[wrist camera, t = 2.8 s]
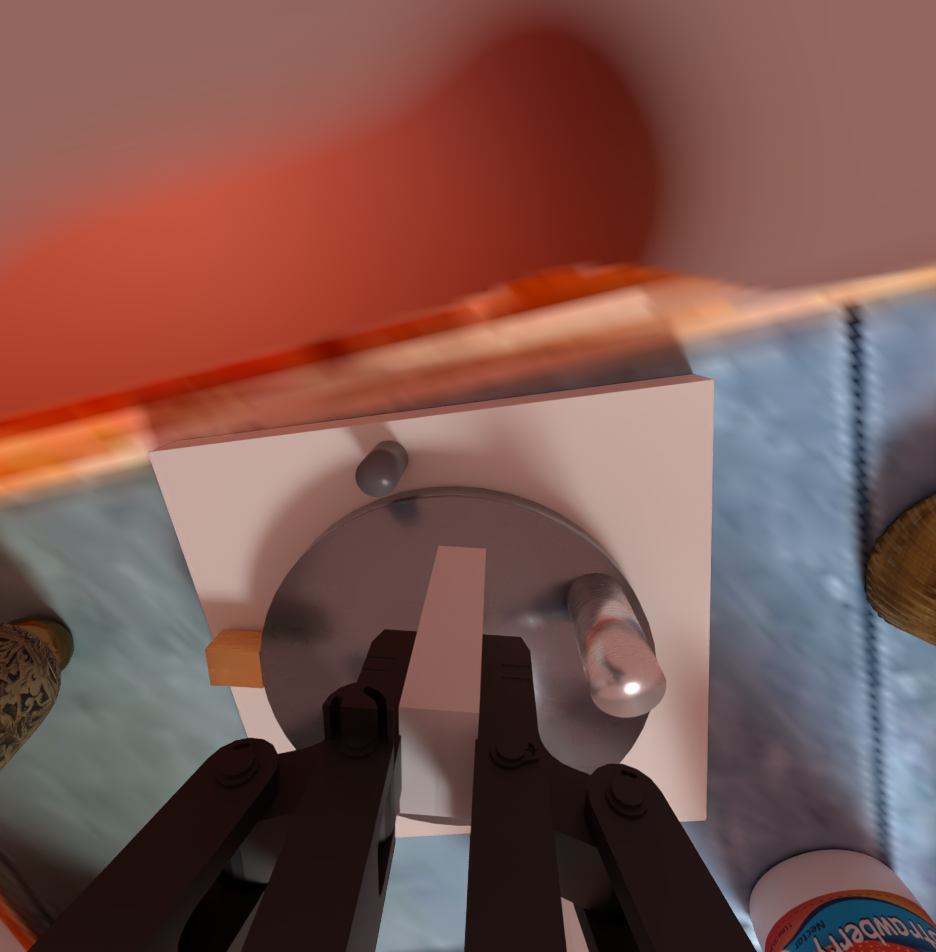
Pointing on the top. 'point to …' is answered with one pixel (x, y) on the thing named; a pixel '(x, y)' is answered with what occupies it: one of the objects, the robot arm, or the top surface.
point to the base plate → (491, 467)
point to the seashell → (906, 572)
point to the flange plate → (505, 613)
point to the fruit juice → (838, 907)
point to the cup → (29, 677)
